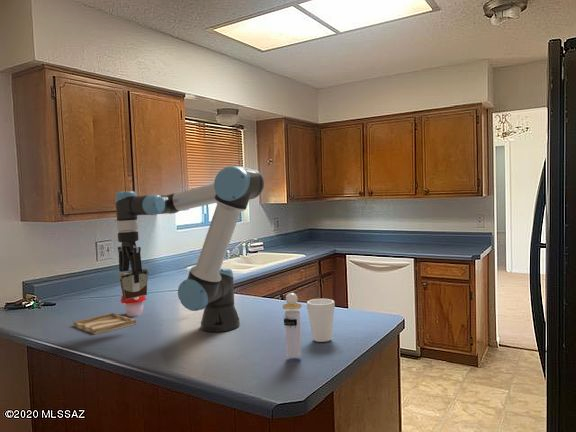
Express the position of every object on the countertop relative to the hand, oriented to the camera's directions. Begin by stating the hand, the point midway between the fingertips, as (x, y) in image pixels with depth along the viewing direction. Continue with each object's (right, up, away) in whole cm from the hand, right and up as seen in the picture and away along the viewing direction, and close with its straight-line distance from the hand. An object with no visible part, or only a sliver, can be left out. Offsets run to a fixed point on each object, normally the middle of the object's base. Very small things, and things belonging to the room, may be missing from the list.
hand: (131, 290), depth 175 cm
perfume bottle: (+63, -15, -36) cm, 74 cm away
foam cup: (+73, -14, -19) cm, 76 cm away
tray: (-15, -16, +11) cm, 24 cm away
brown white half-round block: (0, -3, 0) cm, 3 cm away
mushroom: (-8, -16, +26) cm, 31 cm away
